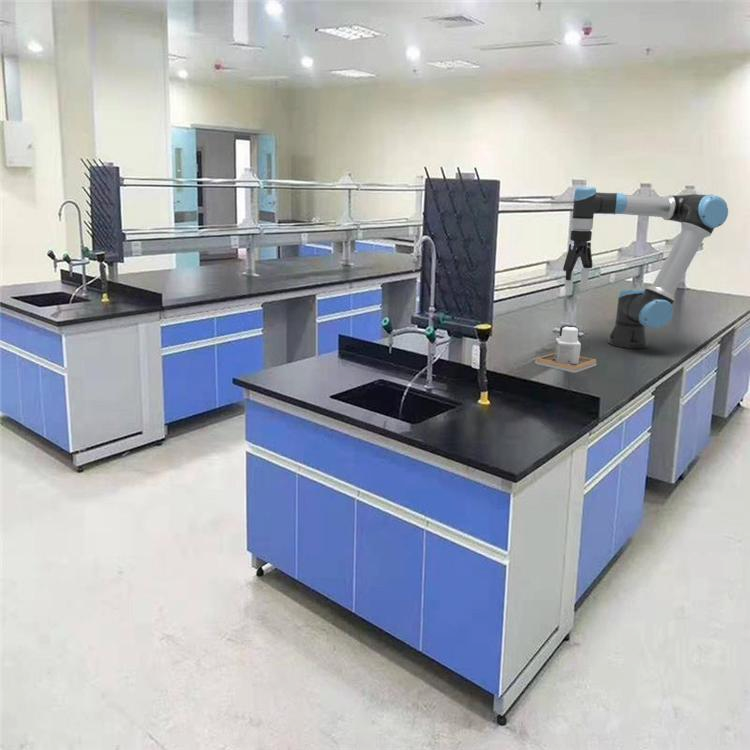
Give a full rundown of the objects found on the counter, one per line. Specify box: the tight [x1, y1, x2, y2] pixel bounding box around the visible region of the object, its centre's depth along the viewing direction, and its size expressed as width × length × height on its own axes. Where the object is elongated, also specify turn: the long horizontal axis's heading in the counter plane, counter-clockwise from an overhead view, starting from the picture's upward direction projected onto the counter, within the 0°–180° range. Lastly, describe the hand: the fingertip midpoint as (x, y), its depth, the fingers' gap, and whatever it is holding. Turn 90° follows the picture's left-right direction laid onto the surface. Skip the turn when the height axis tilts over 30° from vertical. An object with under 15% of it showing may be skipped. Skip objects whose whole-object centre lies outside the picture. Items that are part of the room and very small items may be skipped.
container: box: [553, 325, 582, 364], centre depth 253 cm, size 8×8×13 cm
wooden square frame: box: [534, 352, 597, 374], centre depth 255 cm, size 16×16×2 cm
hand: (576, 286), depth 267 cm, fingers open, 13 cm apart
